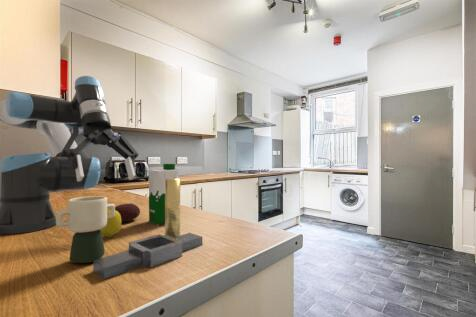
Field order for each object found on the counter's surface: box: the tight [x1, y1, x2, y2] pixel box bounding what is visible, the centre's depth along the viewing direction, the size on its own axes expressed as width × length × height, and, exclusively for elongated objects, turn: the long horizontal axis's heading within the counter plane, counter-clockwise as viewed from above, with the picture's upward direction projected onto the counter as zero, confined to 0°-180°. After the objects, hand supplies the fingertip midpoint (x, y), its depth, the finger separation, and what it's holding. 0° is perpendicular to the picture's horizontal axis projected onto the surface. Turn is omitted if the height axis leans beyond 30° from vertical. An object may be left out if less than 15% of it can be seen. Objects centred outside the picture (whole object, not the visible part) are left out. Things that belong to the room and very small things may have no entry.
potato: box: [115, 203, 141, 223], centre depth 82 cm, size 7×10×6 cm
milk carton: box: [148, 163, 180, 226], centre depth 82 cm, size 9×9×20 cm
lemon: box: [99, 208, 123, 238], centre depth 65 cm, size 6×6×8 cm
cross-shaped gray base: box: [92, 232, 203, 280], centre depth 52 cm, size 9×23×3 cm, turn 140°
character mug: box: [55, 195, 116, 264], centre depth 50 cm, size 11×7×13 cm, turn 140°
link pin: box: [164, 178, 181, 237], centre depth 65 cm, size 4×4×16 cm
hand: (108, 178), depth 66 cm, fingers open, 13 cm apart
